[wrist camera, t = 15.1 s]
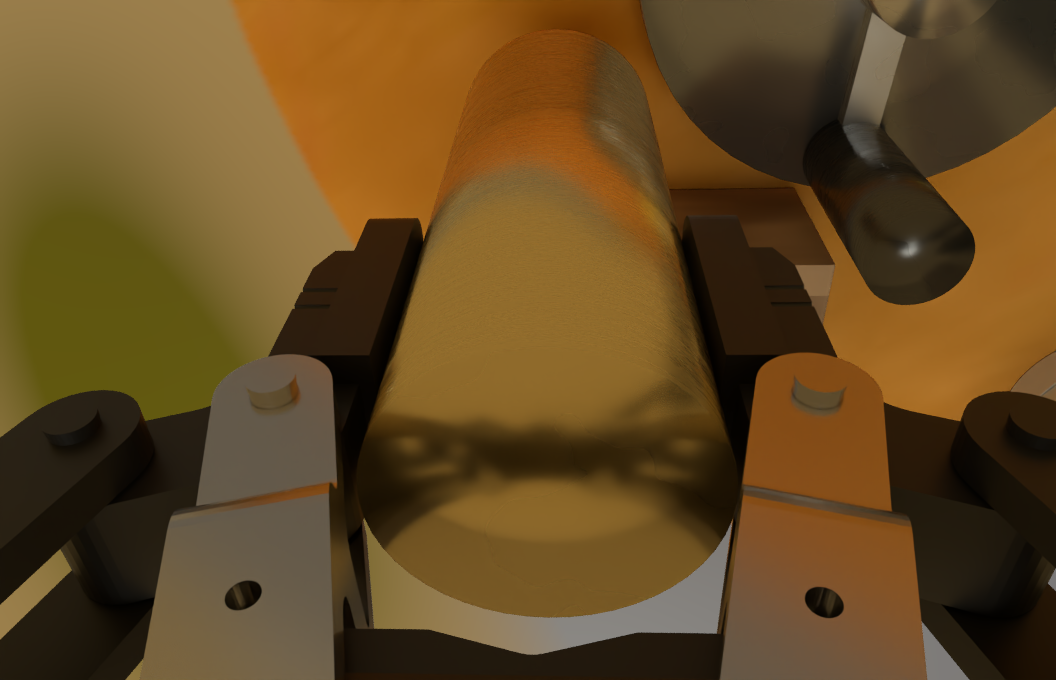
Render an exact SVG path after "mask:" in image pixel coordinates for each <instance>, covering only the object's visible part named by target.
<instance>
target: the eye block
mask: <svg viewBox="0 0 1056 680" xmlns="http://www.w3.org/2000/svg"><path fill="white" fill-rule="evenodd" d="M669 191H670V196H671V200H672V204H673V208H674V212H675V216H676V220H677V224H678V228H679V232H680V237H681V241H682V232H683V225H684V220H685V217H686V216H689V215H737V217H738V219H739V221H740V224H741V227H742V229H743V232H744V234H745V237H746V240H747V242H748V245H749V247H773V248H774V249H775V250H777V251H778V252H779V253H780V254H782V255H783V256H784V257H786V258H787V259H788V260H789V261H791V262H792V263H793V264H795V266H796V268H797V270H798V273H799V275H800V277H801V279H802V281H803V283H804V289H806V290H807V292H808V294H809V296H810V299H811V301H812V306H814V307H815V309H816V312H817V314H818V316H819V318H820V320H821V322H822V325H823V320H824V316H825V311H826V306H827V302H828V297H829V292H830V287H831V283H832V278H833V273H834V268H835V264H834V262H833V260H832V258H831V256H830V254H829V252H828V250H827V249H826V247H825V245H824V243H823V241H822V239H821V237H820V235H819V234H818V232H817V230H816V228H815V226H814V224H813V222H812V220H811V219H810V217H809V215H808V213H807V211H806V209H805V207H804V205H803V204H802V202H801V200H800V198H799V196H798V194H797V192H796V190H795V188H769V189H695V190H669Z"/></svg>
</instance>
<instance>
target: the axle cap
mask: <svg viewBox="0 0 1056 680" xmlns="http://www.w3.org/2000/svg"><path fill="white" fill-rule="evenodd" d="M860 1H861V3H862V4H863V5H864V6H865V7H866V8H868V9H869V10H870V11H871V12H873V13H874V14H875V15H876V16H878V17H879V18H880V19H881V20H883V21H884V22H885V23H886V24H888V25H889V26H890V27H891V28H893V29H894V30H895V31H897V32H899V33H901V34H903V35H905V36H908V37H912V38H917V39H934V38H940V37H944V36H948V35H951V34H953V33H956V32H958V31H960V30H962V29H964V28H966V27H967V26H969V25H971V24H972V23H974V22H975V21H976V20H978V19H979V18H980V17H981V16H983V15H984V14H985V13H986V12H987V11H988V10H989V9H990V8H991V7H992V6H993V4H994V3H995V2H996V1H997V0H860Z"/></svg>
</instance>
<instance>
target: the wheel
mask: <svg viewBox="0 0 1056 680" xmlns="http://www.w3.org/2000/svg"><path fill="white" fill-rule="evenodd" d="M639 2H640V7H641V11H642V16H643V21H644V24H645V28H646V31H647V35H648V38H649V41H650V44H651V47H652V50H653V52H654V55H655V58H656V61H657V64H658V67H659V69H660V71H661V73H662V75H663V77H664V79H665V81H666V83H667V85H668V86H669V88H670V90H671V92H672V94H673V96H674V97H675V99H676V100H677V101H678V103H679V104H680V106H681V107H682V108H683V110H684V111H685V113H686V114H687V115H688V117H689V118H690V119H691V120H692V121H693V122H694V123H695V125H696V126H697V127H698V128H699V129H700V130H701V131H702V132H703V133H704V134H705V135H706V136H707V137H708V138H709V139H710V140H711V141H713V142H714V143H715V144H717V145H718V146H719V147H721V148H722V149H723V150H724V151H726V152H727V153H728V154H730V155H731V156H733V157H734V158H736V159H738V160H740V161H741V162H743V163H745V164H747V165H749V166H750V167H752V168H754V169H756V170H758V171H761V172H764V173H766V174H769V175H771V176H774V177H776V178H779V179H782V180H786V181H790V182H794V183H798V184H802V185H807V186H811V188H812V190H813V192H814V193H815V195H816V197H817V199H818V200H819V202H820V204H821V206H822V207H823V209H824V211H825V213H826V214H827V216H828V218H829V219H830V221H831V223H832V225H833V226H834V228H835V230H836V232H837V233H838V235H839V237H840V239H841V240H842V242H843V244H844V246H845V247H846V249H847V251H848V253H849V254H850V256H851V258H852V260H853V261H854V263H855V265H856V267H857V268H858V270H859V272H860V274H861V275H862V277H863V279H864V280H865V282H866V284H867V286H868V287H869V289H870V290H871V291H872V292H873V293H874V294H875V295H876V296H877V297H879V298H880V299H882V300H884V301H887V302H889V303H893V304H900V305H912V304H919V303H924V302H927V301H930V300H933V299H935V298H937V297H939V296H941V295H943V294H945V293H946V292H948V291H949V290H951V289H952V288H953V287H954V286H956V285H957V284H958V283H959V282H960V281H961V280H962V278H963V277H964V276H965V275H966V273H967V271H968V270H969V268H970V266H971V264H972V261H973V258H974V254H975V242H974V237H973V235H972V233H971V231H970V229H969V228H968V227H967V225H966V224H965V223H964V222H963V221H962V220H961V218H960V217H959V216H958V215H957V214H956V213H955V211H954V210H953V209H952V208H951V207H950V206H949V205H948V203H947V202H946V201H945V200H944V199H943V198H942V197H941V195H940V194H939V193H938V192H937V191H936V190H935V188H934V187H933V186H932V185H931V184H930V183H929V182H928V180H927V179H926V178H927V177H930V176H932V175H935V174H938V173H941V172H944V171H947V170H949V169H952V168H955V167H958V166H960V165H962V164H964V163H966V162H969V161H971V160H973V159H975V158H977V157H979V156H981V155H983V154H986V153H988V152H990V151H991V150H993V149H995V148H996V147H998V146H1000V145H1001V144H1003V143H1005V142H1006V141H1008V140H1010V139H1012V138H1013V137H1015V136H1017V135H1018V134H1020V133H1021V132H1022V131H1024V130H1025V129H1027V128H1028V127H1029V126H1031V125H1032V124H1034V123H1035V122H1036V121H1038V120H1039V119H1040V118H1042V117H1043V116H1045V115H1046V114H1047V113H1049V112H1050V111H1051V110H1052V109H1053V108H1054V107H1055V106H1056V0H997V1H996V2H995V3H994V4H993V6H992V7H991V8H990V9H989V10H988V11H987V12H986V13H985V14H984V15H983V16H981V17H980V18H979V19H978V20H976V21H975V22H974V23H972V24H971V25H969V26H967V27H966V28H964V29H962V30H960V31H958V32H956V33H953V34H951V35H948V36H944V37H940V38H934V39H917V38H912V37H908V36H905V35H903V34H901V33H899V32H897V31H895V30H894V29H893V28H891V27H890V26H889V25H888V24H886V23H885V22H884V21H883V20H881V19H880V18H879V17H878V16H876V15H875V14H874V13H873V12H871V11H870V10H869V9H868V8H866V7H865V6H864V5H863V4H862V3H861V1H860V0H639Z"/></svg>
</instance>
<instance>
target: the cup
mask: <svg viewBox="0 0 1056 680" xmlns="http://www.w3.org/2000/svg"><path fill="white" fill-rule="evenodd" d="M1010 392H1022V393H1028V394H1033V395H1037V396H1041V397H1045V398H1048V399H1051V400H1054V401H1056V351H1055V352H1054V353H1052V354H1050V355H1048V356H1047V357H1045V358H1044V359H1042V360H1041V361H1039V362H1038V363H1037V364H1035V365H1034V366H1033V367H1032V368H1030V369H1029V370H1028V371H1027V372H1026V373H1025V374H1024V375H1023V376H1022V377H1021V378H1020V379H1019V380H1018V382H1017V383H1016V384H1015V385H1014V387H1013V388H1012V390H1011V391H1010Z"/></svg>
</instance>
